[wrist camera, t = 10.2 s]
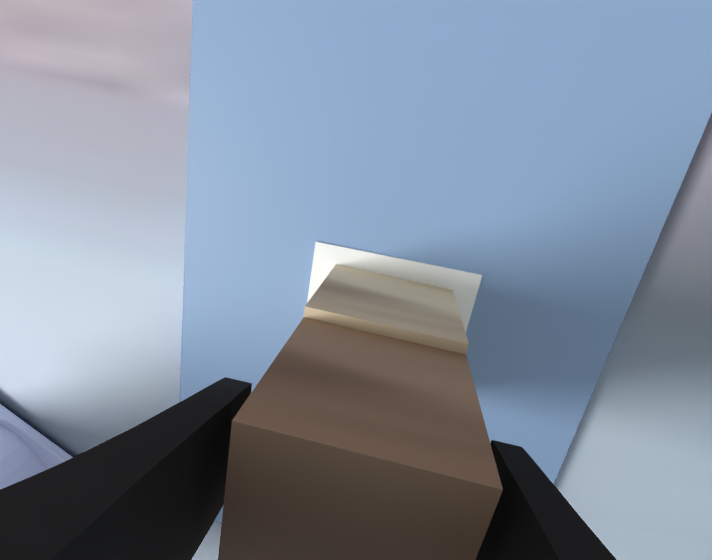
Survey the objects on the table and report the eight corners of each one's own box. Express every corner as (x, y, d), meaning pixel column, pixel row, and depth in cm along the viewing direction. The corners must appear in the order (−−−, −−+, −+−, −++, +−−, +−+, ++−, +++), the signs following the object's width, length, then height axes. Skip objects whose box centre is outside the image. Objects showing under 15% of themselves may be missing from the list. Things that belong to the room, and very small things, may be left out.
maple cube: (423, 391, 14) (427, 475, 10) (317, 365, 15) (284, 438, 11) (452, 289, 13) (469, 343, 9) (335, 264, 13) (304, 306, 9)
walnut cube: (426, 483, 10) (433, 666, 7) (283, 446, 11) (214, 602, 7) (465, 354, 9) (503, 489, 5) (303, 317, 10) (231, 420, 6)
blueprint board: (501, 584, 17) (505, 601, 17) (183, 500, 18) (175, 513, 18) (738, 14, 10) (760, 4, 10) (205, -60, 12) (192, -74, 11)
